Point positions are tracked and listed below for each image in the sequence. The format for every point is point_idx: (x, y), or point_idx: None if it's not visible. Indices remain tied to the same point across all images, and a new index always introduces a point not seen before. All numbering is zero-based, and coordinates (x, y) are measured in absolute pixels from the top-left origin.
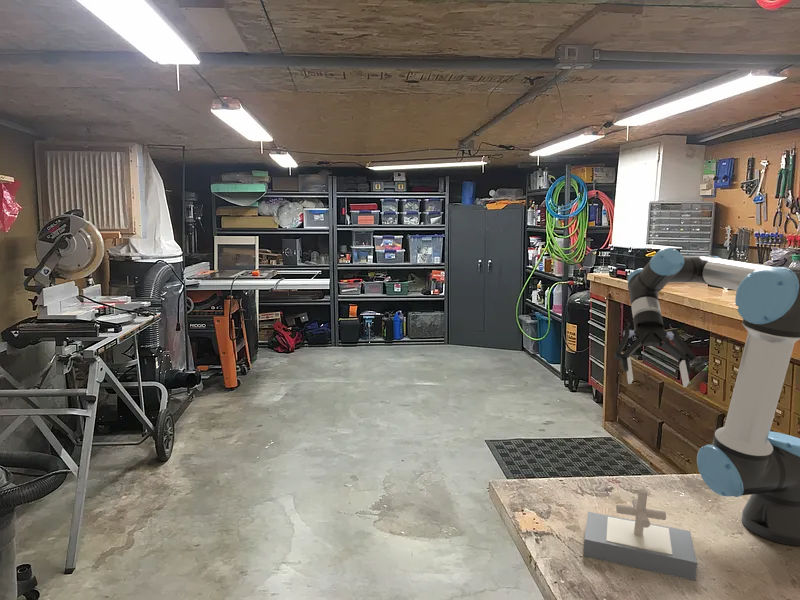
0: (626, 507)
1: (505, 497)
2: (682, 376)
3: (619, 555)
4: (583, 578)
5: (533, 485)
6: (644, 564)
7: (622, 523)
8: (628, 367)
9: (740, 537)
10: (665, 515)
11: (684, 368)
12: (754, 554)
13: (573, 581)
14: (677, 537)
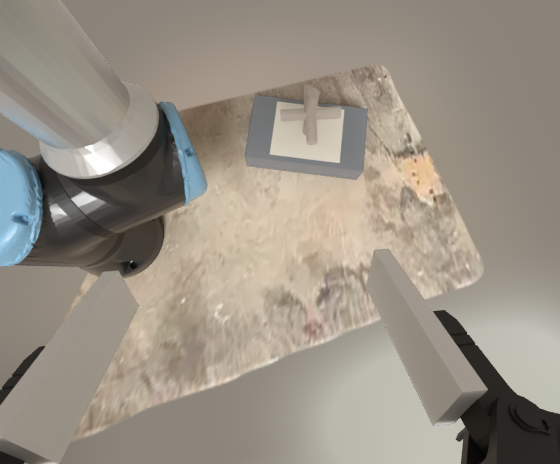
0: (329, 107)
1: (461, 227)
2: (107, 342)
3: None
4: (360, 87)
5: (430, 276)
6: None
7: (323, 150)
8: (427, 310)
9: None
10: (281, 109)
11: (58, 349)
12: None
13: (369, 81)
14: (263, 137)
